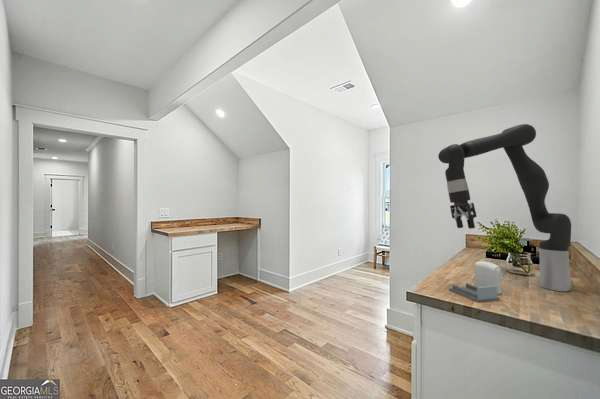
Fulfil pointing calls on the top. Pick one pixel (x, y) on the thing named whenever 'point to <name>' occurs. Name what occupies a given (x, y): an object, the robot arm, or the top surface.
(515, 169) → the robot arm
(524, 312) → the top surface
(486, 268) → the photo printer
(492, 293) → the charging dock
